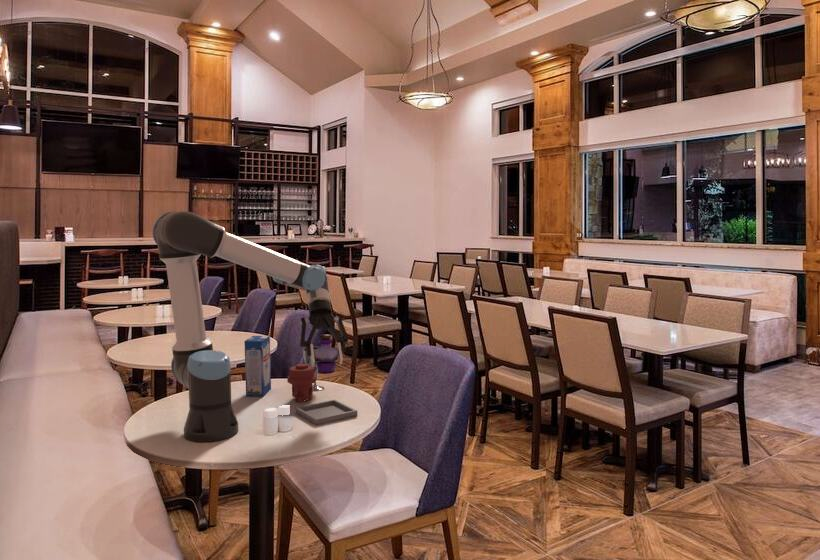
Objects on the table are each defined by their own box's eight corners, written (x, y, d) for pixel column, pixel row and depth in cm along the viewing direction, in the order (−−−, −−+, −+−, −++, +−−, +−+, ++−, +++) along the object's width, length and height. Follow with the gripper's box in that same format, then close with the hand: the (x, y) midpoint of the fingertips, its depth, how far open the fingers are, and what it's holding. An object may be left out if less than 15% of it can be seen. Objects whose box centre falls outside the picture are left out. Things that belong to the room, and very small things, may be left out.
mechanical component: (319, 395, 210) (314, 404, 200) (291, 395, 211) (284, 404, 201) (318, 361, 209) (313, 368, 199) (290, 361, 209) (284, 368, 199)
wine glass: (311, 384, 225) (310, 345, 223) (329, 386, 222) (329, 347, 220) (300, 390, 217) (299, 350, 216) (319, 392, 214) (318, 351, 213)
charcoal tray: (316, 425, 180) (316, 419, 179) (295, 412, 191) (295, 407, 191) (357, 416, 188) (357, 410, 188) (334, 404, 200) (334, 399, 200)
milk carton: (254, 388, 219) (253, 335, 217) (271, 389, 219) (269, 335, 217) (246, 396, 209) (244, 341, 207) (263, 396, 209) (261, 341, 207)
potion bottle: (307, 371, 189) (306, 334, 188) (330, 366, 195) (330, 330, 193) (321, 376, 182) (320, 338, 181) (344, 372, 188) (344, 334, 187)
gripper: (348, 310, 204) (358, 366, 191) (287, 313, 199) (292, 371, 185) (351, 296, 199) (361, 354, 185) (288, 299, 193) (294, 358, 179)
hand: (327, 362), depth 185 cm, fingers closed on potion bottle, 8 cm apart
